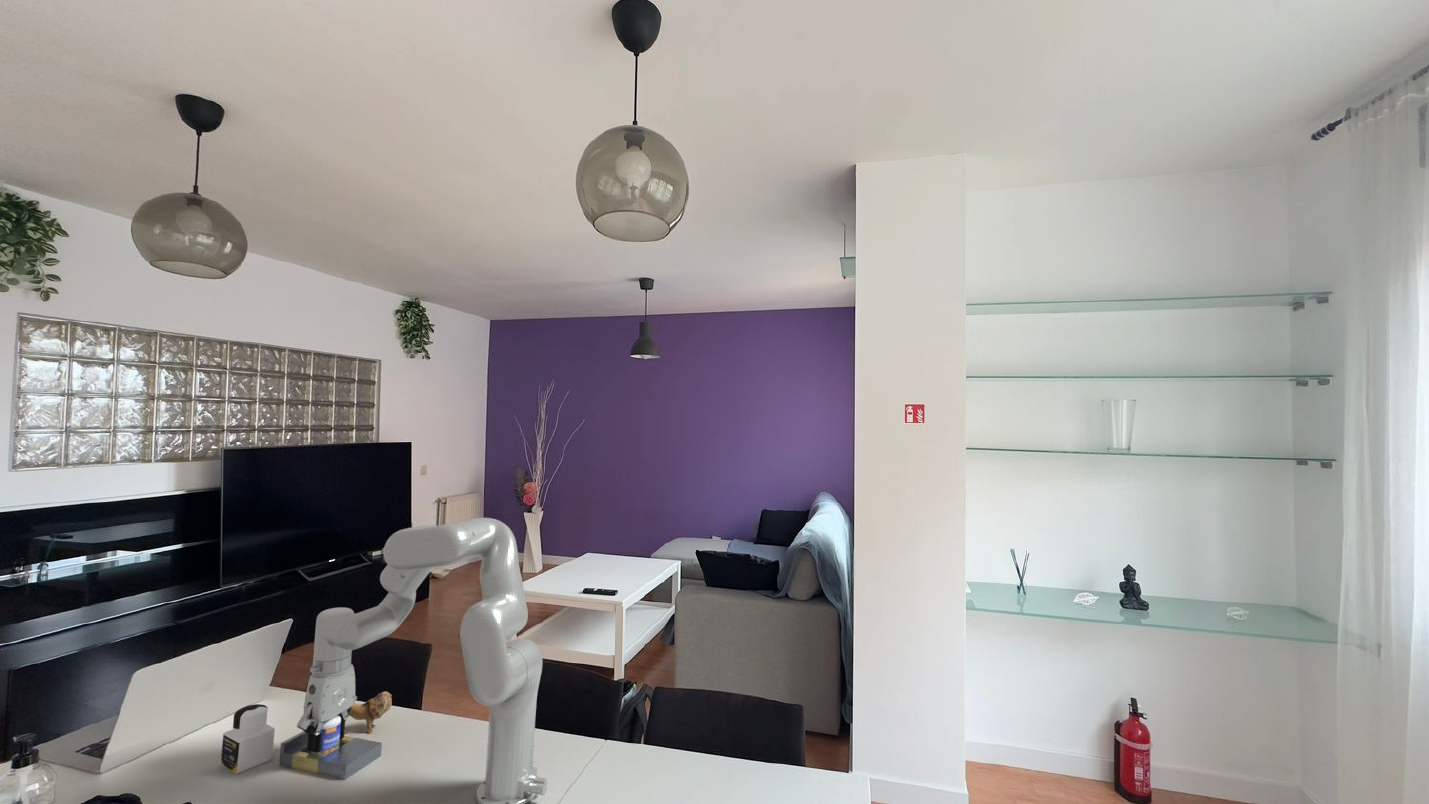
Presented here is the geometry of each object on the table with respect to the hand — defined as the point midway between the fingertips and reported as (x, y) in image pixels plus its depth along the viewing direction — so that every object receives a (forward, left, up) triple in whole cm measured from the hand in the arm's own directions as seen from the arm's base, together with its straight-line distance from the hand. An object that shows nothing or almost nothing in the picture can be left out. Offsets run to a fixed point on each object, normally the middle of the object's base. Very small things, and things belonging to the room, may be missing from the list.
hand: (326, 743), depth 135 cm
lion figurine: (+4, -14, -4) cm, 15 cm away
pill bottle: (0, 0, -2) cm, 2 cm away
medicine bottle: (+15, +6, -4) cm, 17 cm away
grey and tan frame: (-2, 0, -4) cm, 4 cm away
